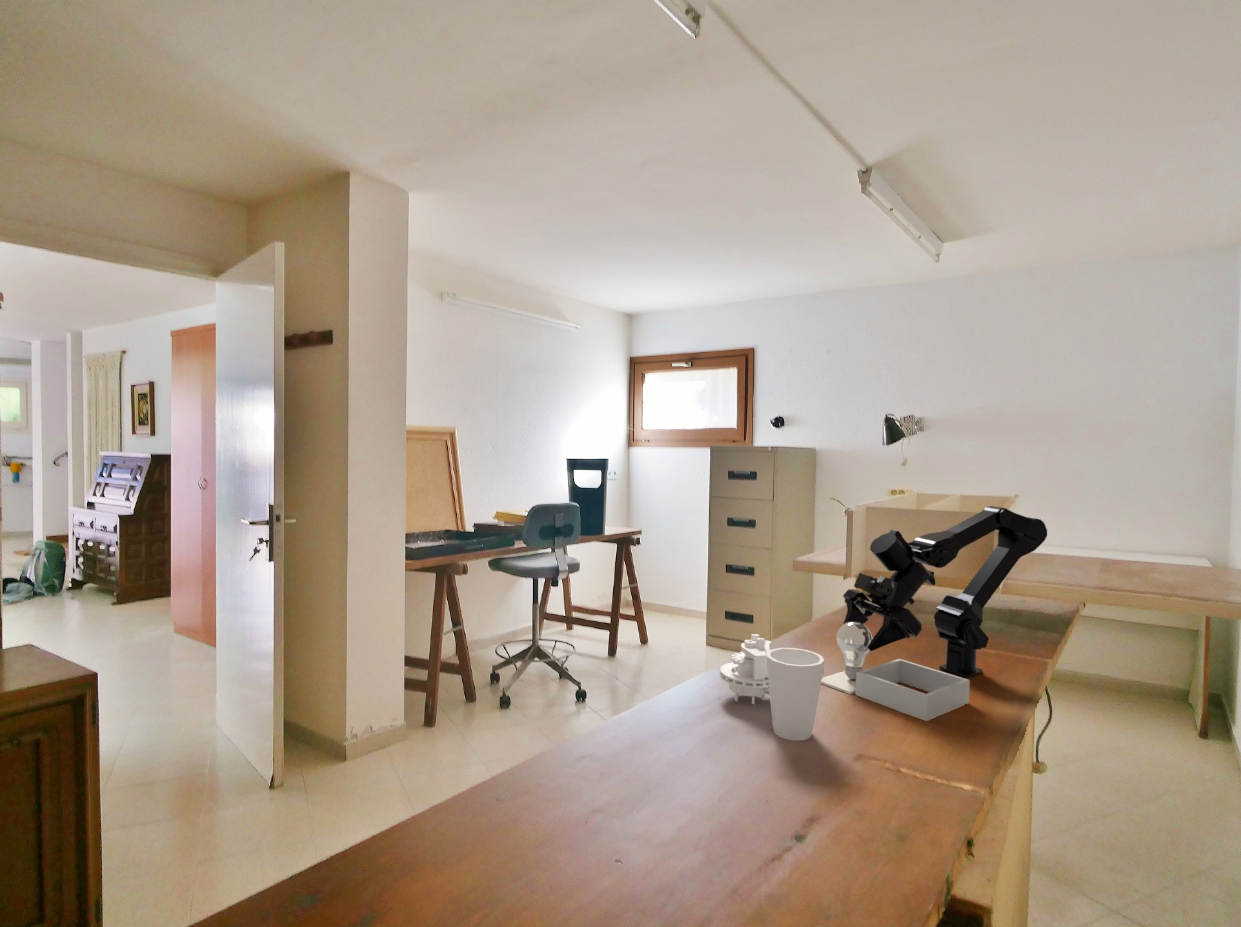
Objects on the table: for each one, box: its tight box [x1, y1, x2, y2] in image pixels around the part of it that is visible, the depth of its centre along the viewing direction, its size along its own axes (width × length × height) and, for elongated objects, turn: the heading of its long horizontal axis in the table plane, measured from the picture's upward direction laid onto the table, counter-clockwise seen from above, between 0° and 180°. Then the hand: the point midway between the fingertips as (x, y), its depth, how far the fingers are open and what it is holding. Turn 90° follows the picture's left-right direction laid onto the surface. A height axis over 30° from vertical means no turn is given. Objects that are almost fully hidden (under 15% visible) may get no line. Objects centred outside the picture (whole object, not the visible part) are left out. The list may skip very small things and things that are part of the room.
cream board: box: [821, 670, 856, 695], centre depth 142 cm, size 12×8×1 cm, turn 126°
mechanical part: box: [719, 633, 772, 706], centre depth 132 cm, size 11×12×12 cm
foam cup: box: [766, 647, 825, 742], centre depth 117 cm, size 10×9×13 cm
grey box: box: [854, 658, 971, 722], centre depth 133 cm, size 15×15×4 cm
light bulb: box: [836, 621, 874, 681], centre depth 142 cm, size 7×7×12 cm
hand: (854, 642), depth 142 cm, fingers open, 9 cm apart
